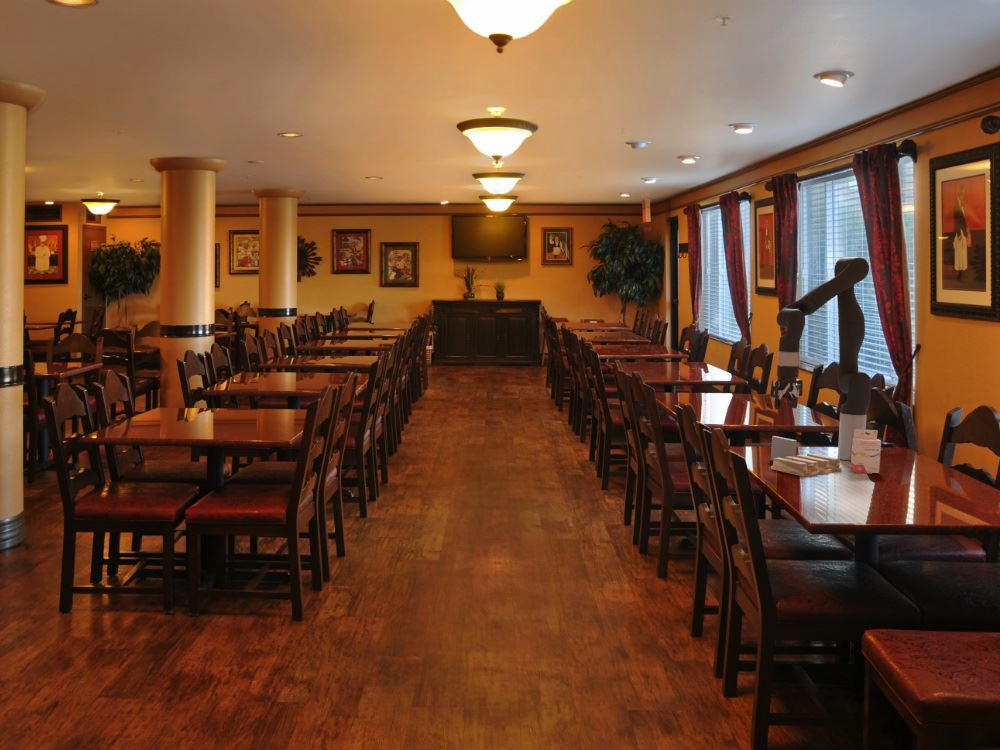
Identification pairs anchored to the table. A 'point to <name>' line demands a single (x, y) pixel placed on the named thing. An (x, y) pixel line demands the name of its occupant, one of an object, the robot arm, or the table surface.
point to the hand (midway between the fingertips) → (785, 408)
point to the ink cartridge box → (865, 452)
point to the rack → (807, 464)
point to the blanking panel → (782, 447)
